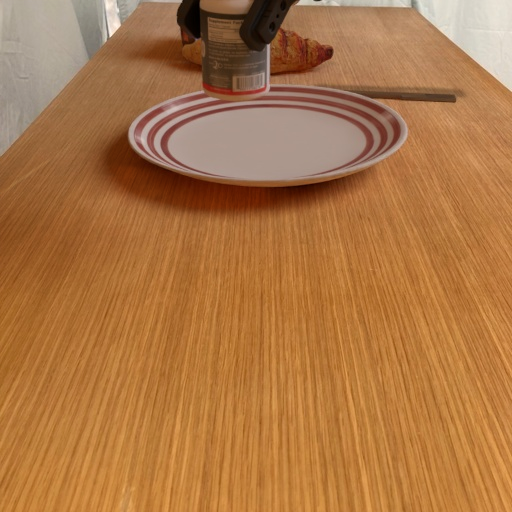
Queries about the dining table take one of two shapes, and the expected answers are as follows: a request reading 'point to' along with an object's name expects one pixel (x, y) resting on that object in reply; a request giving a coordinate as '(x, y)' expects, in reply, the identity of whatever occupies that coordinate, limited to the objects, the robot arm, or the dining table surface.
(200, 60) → the croissant
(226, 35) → the pill bottle
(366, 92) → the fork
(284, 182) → the dinner plate
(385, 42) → the dining table surface
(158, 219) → the dining table surface
